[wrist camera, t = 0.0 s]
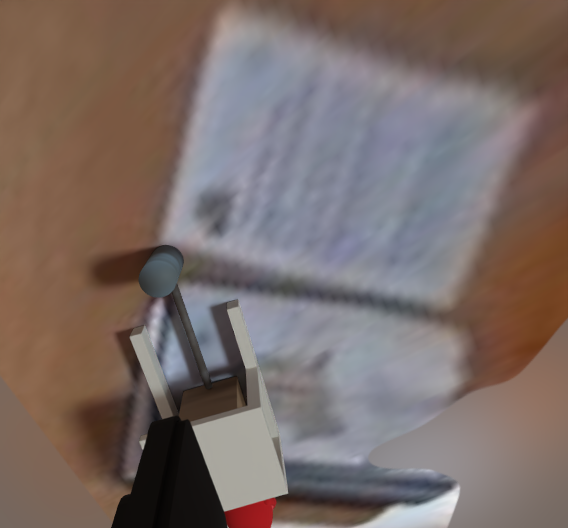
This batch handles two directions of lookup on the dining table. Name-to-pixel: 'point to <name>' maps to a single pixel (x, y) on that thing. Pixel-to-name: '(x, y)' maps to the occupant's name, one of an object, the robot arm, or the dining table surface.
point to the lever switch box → (228, 426)
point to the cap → (252, 515)
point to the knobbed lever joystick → (189, 339)
